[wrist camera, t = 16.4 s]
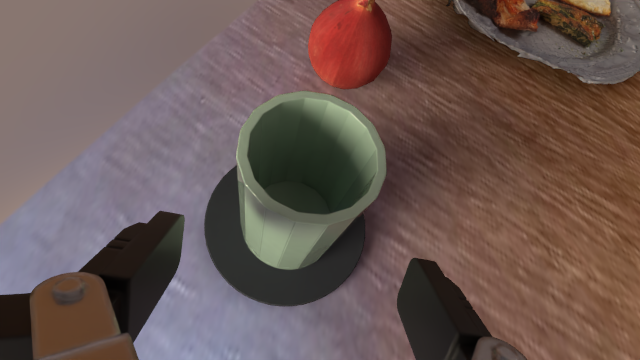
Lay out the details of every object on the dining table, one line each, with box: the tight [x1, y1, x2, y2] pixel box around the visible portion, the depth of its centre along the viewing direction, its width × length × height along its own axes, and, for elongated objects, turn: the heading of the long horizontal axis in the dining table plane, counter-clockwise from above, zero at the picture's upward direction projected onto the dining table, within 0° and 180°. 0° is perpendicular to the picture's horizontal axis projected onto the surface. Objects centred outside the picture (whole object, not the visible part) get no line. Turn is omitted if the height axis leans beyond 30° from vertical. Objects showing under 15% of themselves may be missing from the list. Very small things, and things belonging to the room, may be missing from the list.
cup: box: [236, 91, 387, 270], centre depth 17 cm, size 6×6×9 cm
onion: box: [308, 0, 392, 89], centre depth 24 cm, size 6×6×8 cm
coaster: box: [204, 166, 365, 306], centre depth 21 cm, size 10×10×1 cm
